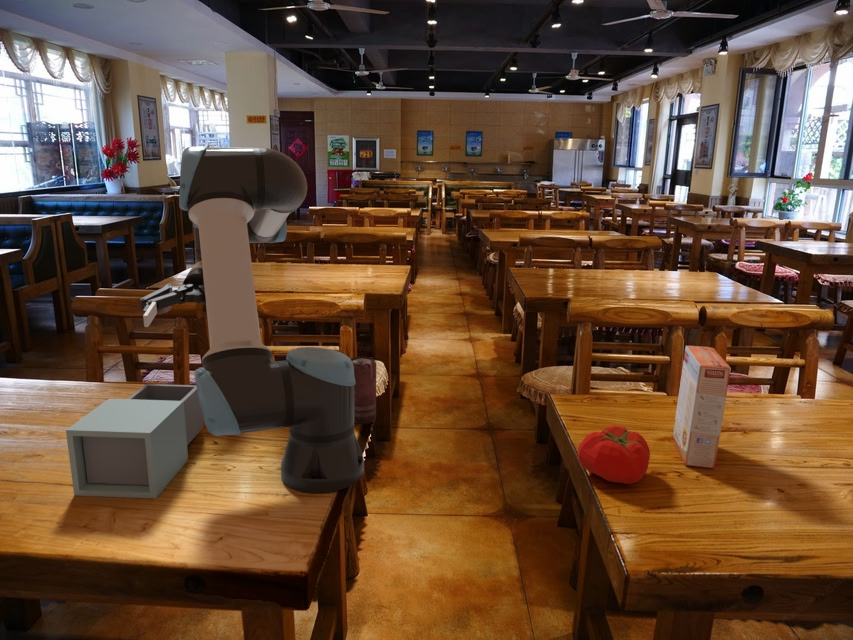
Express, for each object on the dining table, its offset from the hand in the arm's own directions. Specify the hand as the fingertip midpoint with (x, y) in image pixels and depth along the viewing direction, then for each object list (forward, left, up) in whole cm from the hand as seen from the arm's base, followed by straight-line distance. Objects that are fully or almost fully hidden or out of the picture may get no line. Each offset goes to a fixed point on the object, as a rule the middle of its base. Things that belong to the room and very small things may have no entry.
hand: (179, 323), depth 133 cm
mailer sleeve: (-19, +17, -22) cm, 33 cm away
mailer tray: (-14, +12, -20) cm, 27 cm away
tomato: (-74, -51, -22) cm, 93 cm away
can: (-24, -30, -22) cm, 44 cm away
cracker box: (-79, -73, -22) cm, 110 cm away
